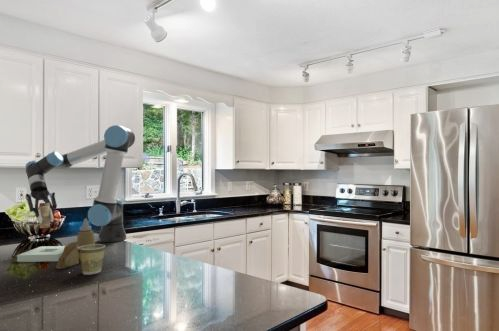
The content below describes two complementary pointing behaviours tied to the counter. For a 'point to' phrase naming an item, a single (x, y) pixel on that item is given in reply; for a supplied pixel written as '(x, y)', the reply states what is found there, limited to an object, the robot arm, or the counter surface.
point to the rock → (69, 256)
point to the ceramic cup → (91, 258)
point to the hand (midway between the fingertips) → (46, 220)
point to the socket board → (41, 254)
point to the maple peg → (45, 215)
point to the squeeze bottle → (85, 235)
